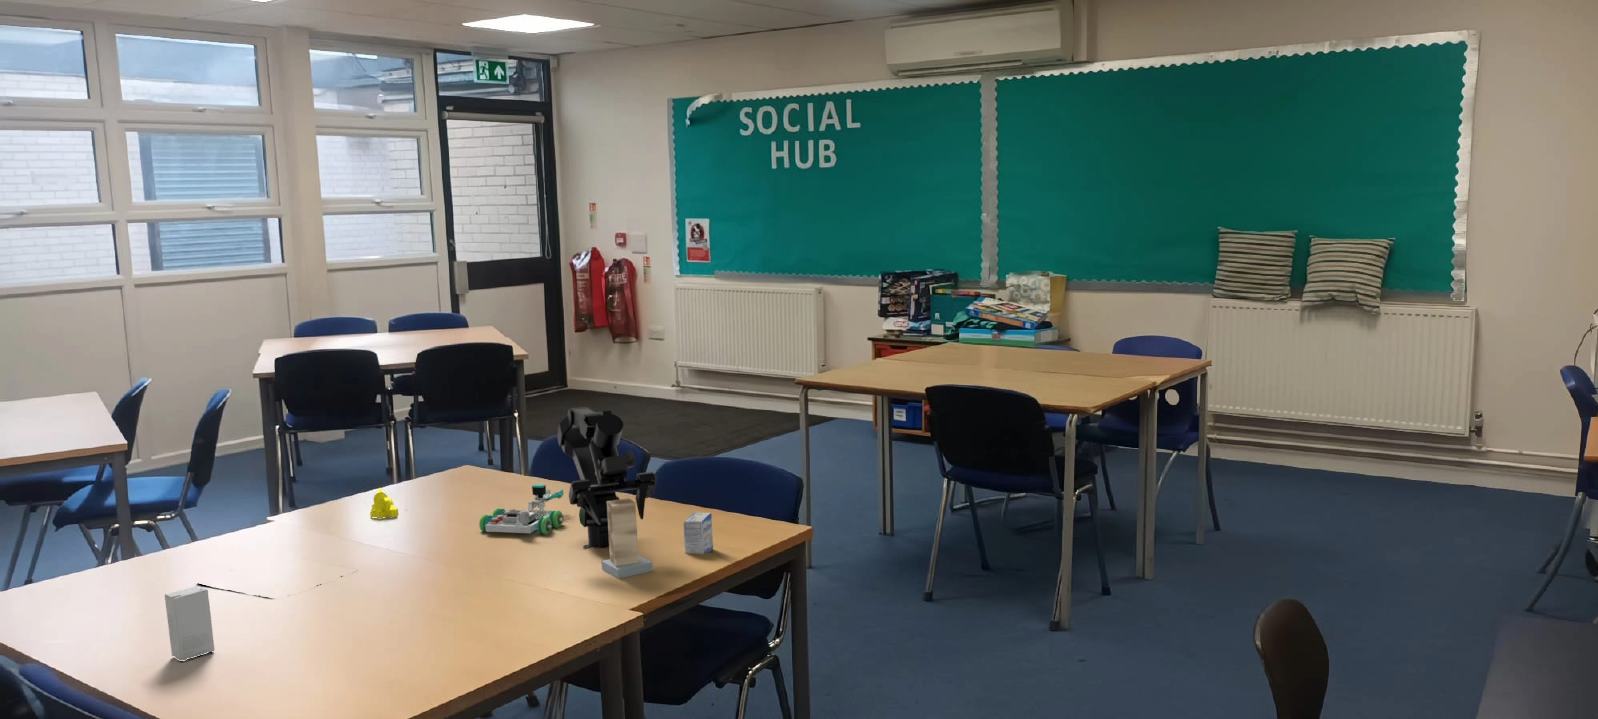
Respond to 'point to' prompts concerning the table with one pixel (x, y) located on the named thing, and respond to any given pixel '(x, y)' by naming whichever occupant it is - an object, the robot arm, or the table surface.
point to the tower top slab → (627, 568)
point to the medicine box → (698, 533)
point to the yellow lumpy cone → (383, 506)
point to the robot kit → (525, 515)
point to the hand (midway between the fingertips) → (621, 521)
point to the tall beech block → (622, 532)
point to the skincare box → (189, 622)
